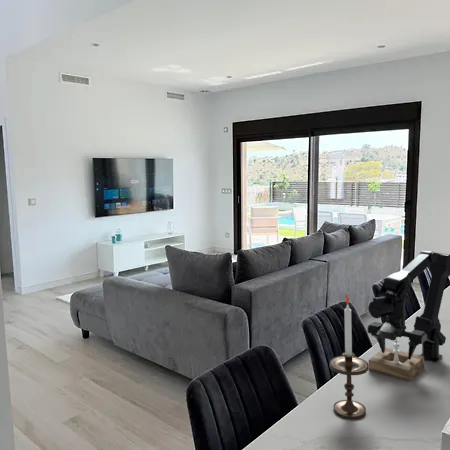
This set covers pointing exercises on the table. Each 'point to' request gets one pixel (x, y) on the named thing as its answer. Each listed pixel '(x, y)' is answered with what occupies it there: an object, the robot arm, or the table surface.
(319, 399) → the table surface
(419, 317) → the robot arm
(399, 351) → the chess piece
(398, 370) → the tan wooden square block
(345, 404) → the candlestick
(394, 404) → the table surface
